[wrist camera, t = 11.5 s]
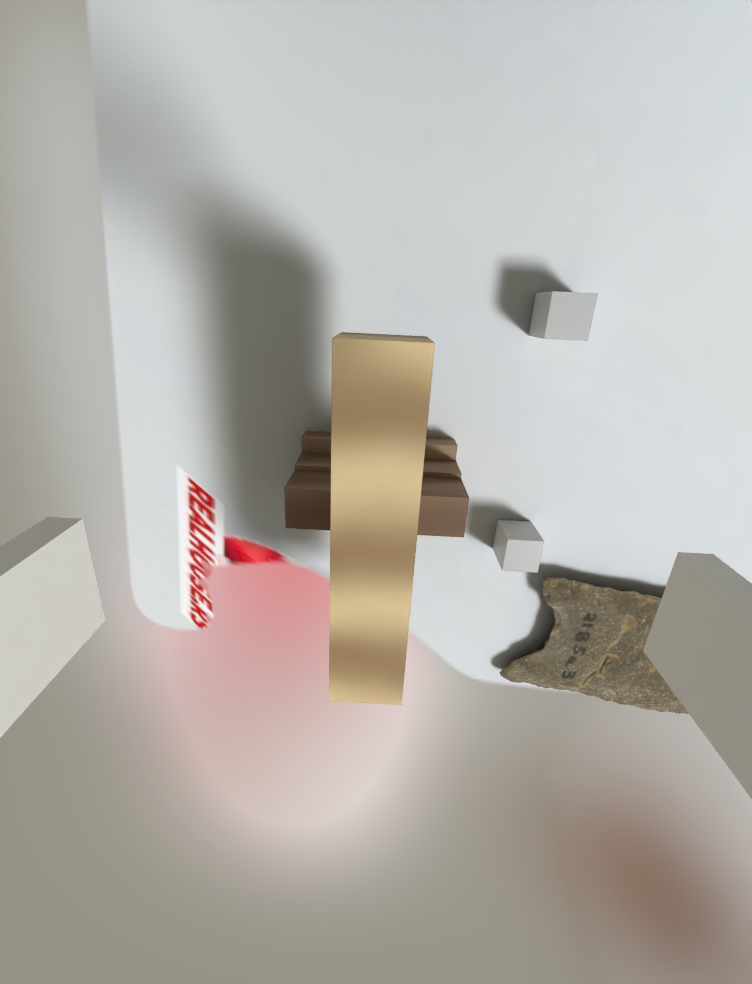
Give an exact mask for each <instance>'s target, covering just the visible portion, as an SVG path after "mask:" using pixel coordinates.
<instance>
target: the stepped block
mask: <svg viewBox="0 0 752 984" xmlns="http://www.w3.org/2000/svg"><path fill="white" fill-rule="evenodd" d="M456 453H457V444H456V442H455V440H454V439H440V438H426V444H425V455H424V466H423V477H422V488H421V498H420V509H419V520H418V531H417V535H430V536H449V537H464V532H465V525H466V517H467V510H468V503H469V496H468V494H467V492H466V489H465V487H464V485H463V482H462V480H461V472H460V469H459V467H458V465H457V462H456ZM284 490H285V519H286V528H297V529H316V530H331V433H324V432H305V434H304V435H303V437H302V454H301V455H300V457H299V459H298V461H297V462H296V464H295V471H294V472H293V474H292V476H291V478H290V479H289V481H288V483H287V485H286V486H285V488H284Z"/></svg>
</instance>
